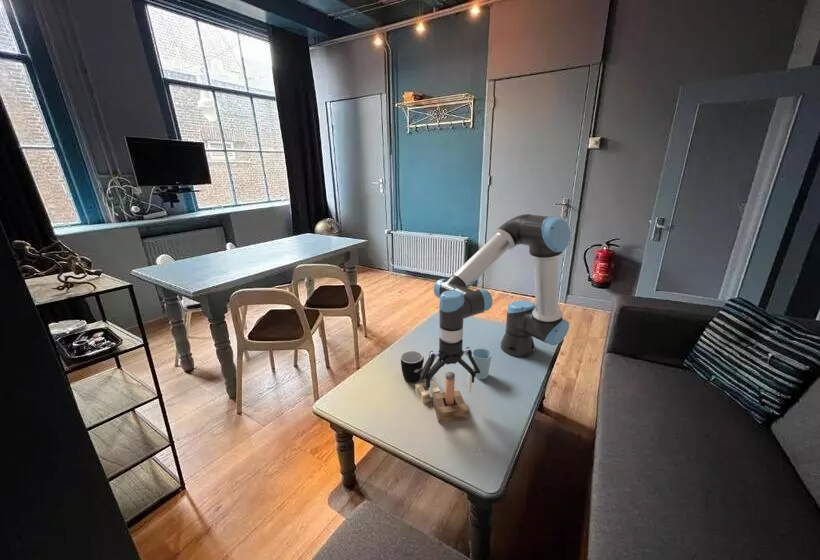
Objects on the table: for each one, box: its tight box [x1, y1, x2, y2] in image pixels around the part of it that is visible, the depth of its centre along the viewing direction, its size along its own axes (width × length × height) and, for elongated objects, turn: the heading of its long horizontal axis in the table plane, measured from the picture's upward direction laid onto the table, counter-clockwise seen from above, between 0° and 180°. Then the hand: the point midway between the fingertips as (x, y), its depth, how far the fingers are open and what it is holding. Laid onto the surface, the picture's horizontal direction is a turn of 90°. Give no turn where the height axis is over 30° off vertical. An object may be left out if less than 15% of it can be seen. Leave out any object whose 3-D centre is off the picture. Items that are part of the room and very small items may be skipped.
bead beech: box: [414, 380, 441, 404], centre depth 122 cm, size 7×7×4 cm
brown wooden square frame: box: [432, 390, 469, 423], centre depth 114 cm, size 10×10×4 cm
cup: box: [472, 347, 493, 380], centre depth 132 cm, size 8×8×10 cm
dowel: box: [444, 371, 456, 406], centre depth 112 cm, size 3×3×15 cm
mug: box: [400, 350, 425, 384], centre depth 133 cm, size 12×9×10 cm
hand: (449, 392), depth 112 cm, fingers open, 13 cm apart
